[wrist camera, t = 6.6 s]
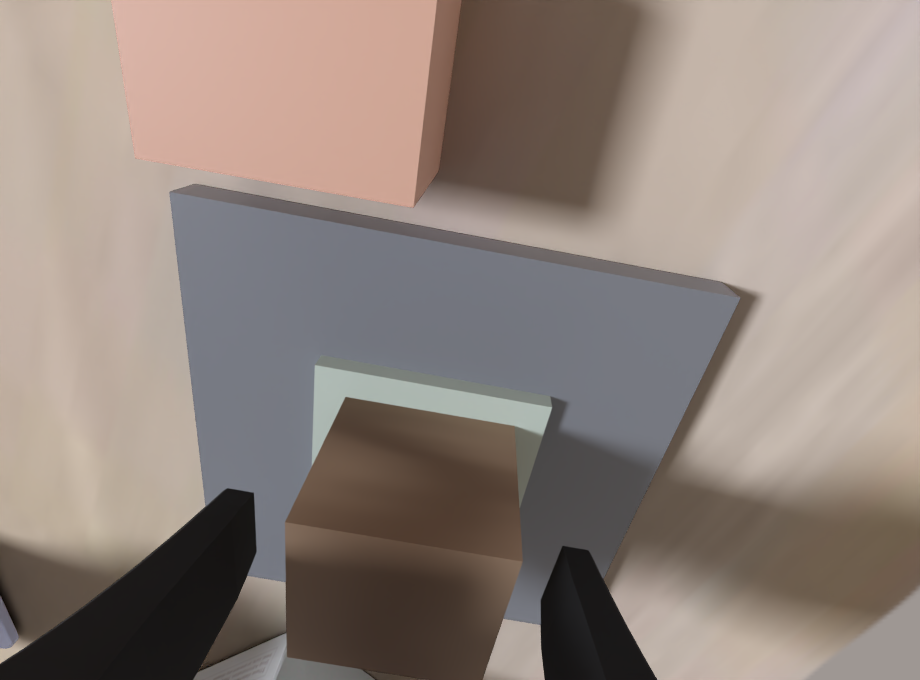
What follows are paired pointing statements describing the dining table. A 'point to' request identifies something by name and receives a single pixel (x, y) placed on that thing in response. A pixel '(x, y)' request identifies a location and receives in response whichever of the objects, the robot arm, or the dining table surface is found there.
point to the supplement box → (276, 666)
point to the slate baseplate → (434, 360)
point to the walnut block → (404, 543)
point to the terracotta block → (292, 89)
